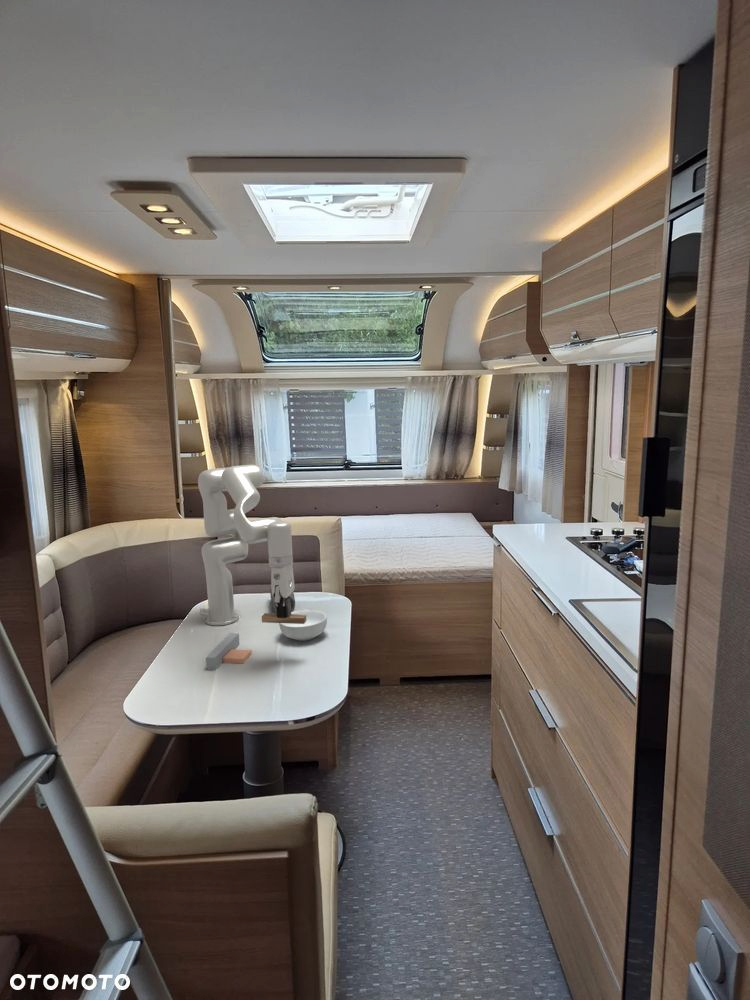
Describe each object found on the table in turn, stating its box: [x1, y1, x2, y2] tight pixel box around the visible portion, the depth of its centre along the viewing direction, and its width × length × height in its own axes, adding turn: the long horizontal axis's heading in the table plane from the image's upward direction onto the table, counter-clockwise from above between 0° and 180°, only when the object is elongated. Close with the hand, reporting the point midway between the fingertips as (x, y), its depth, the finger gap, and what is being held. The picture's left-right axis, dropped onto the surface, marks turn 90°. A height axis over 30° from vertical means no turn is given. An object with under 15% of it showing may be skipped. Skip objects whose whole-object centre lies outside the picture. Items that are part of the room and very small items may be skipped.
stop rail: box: [205, 632, 240, 671], centre depth 198 cm, size 3×20×4 cm, turn 171°
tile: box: [222, 648, 253, 664], centre depth 197 cm, size 7×7×2 cm
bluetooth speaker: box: [269, 588, 296, 613], centre depth 242 cm, size 23×9×10 cm, turn 12°
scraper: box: [261, 596, 307, 624], centre depth 194 cm, size 3×14×8 cm, turn 81°
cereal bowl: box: [278, 609, 328, 642], centre depth 213 cm, size 17×17×7 cm
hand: (283, 615), depth 194 cm, fingers closed on scraper, 3 cm apart
